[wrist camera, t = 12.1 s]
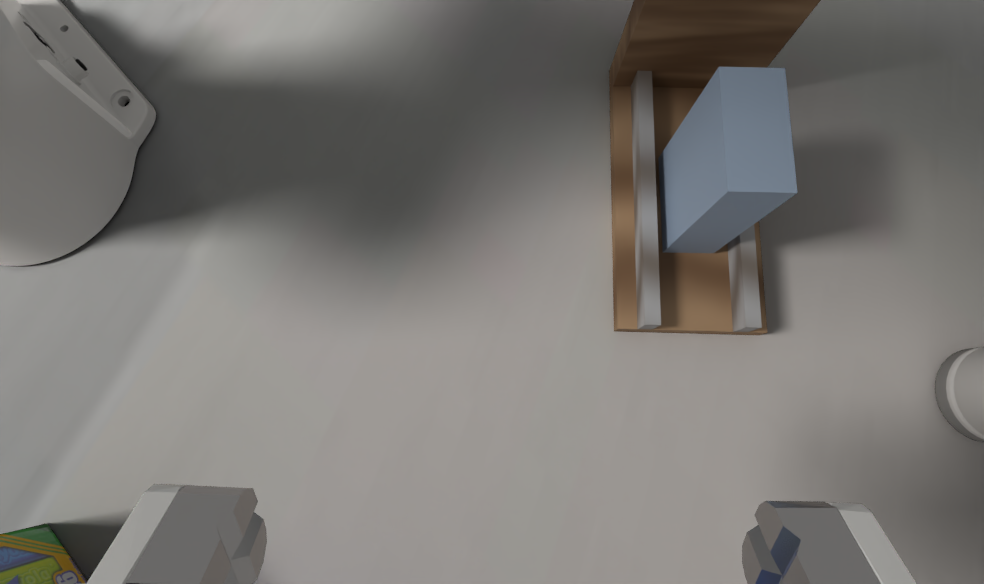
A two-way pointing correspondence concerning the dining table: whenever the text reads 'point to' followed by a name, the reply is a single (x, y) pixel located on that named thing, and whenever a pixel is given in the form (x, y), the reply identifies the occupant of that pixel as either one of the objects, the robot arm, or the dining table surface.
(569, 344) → the dining table surface
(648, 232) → the brown wooden holder
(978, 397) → the travel mug
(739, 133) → the pale blue rectangular block
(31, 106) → the robot arm
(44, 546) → the chalk box
